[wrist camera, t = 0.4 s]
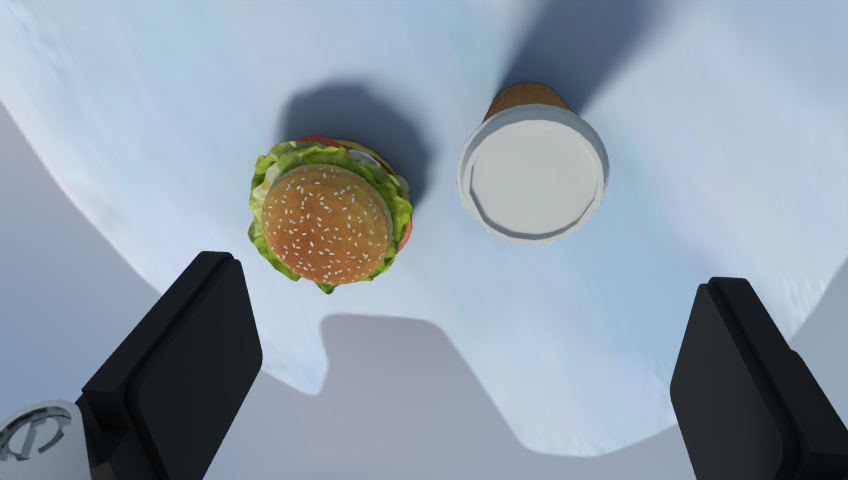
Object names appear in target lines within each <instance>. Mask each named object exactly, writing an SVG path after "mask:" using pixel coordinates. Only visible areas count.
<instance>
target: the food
mask: <svg viewBox="0 0 848 480" xmlns="http://www.w3.org/2000/svg"><path fill="white" fill-rule="evenodd" d="M255 167H256V171H255V174H254V177H253V180H252V187H251V194H250V203H249V206H250V209H251V210H252V212H253V214H254V219H253V222H252V224H251V225H250V228H249V231H248V235H249V238H250V240H251V242H252V243H253V244H254V245H255V246H256V247H257V249H258V251H259V253H260V254H261V255H262V256H263V257H264V258H266V259H267V260H268V261H269V262H270V263H271V264H272V266H273V267H274V268H275V269H276V270H278V271H280V272H281V273H283V274H284V275H286V276H287V277H288V278H289V279H291V280H294V281H296V282H297V281H298V280H299V279H300V278H301V277H304V278H306V279H308V280H311V281H314V282H315V283H316V284H317V286H318V287H319V288H320V289H321V290H323V291H324V292H325V293H326V294H331V293H333V290H334V288H335V287H337V286H338V285H340V284H348V283H353V282H358V281H372V280H373V278H374V277H376V276H378V275H379V274H380V273H383V272H384V271H386V270H387V269H388V268H389V267H390V266H391V265H392V263H393V262H394V260H395V255H396V254H397V253H398V252H399V251H400V250H401V249H402V248H403V246H404V245H405V243H406V242H407V240H408V239H409V236H410V233H411V230H412V217H411V213H412V212H413V208H412V206H411V204H410V189H409V187H408V184H407V182H406V180H405V179H404V178H403V177H401V176H398V175H396V173H395V172H394V170H393V168H392V167H391V166H390V165H389V164H388V163H387V162H386V161H384V160H383V159H382V158H381V157H380V156H379V155H378V154H377V153H375V152H374V151H372V150H370V149H368V148H366V147H364V146H362V145H360V144H358V143H356V142H352V141H346V140H337V139H330V138H326V137H320V136H310V137H303V138H300V139H298V140H295V141H293V142H284V143H279V144H277V145H275V146H274V147H273V148H272V149H271V150H270V151H269V153H268V155H267V156H263V155H260V156H259V158H258V160H257V163H256V166H255Z"/></svg>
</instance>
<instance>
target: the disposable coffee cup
mask: <svg viewBox="0 0 848 480" xmlns="http://www.w3.org/2000/svg"><path fill="white" fill-rule="evenodd" d="M608 180H609V161H608V155H607V152H606V150H605V147H604V144H603V142H602V141H601V139H600V137H599V135H598V134H597V133H596V132H595V130H594V129H593V128H592V127H591V126H590V125H589V124H588V122H586V121H585V120H583V119H582V118H580V117H579V116H577V115H575V114H574V113H573V112H572V111H571V110H570V108H569V107H568V106H567V105H566V104H565V102H564V101H563V100H562V99H561V97H560V96H559V95H558V94H557V93H556V92H555V91H554V90H553V89H551V88H550V87H548V86H546V85H544V84H541V83H537V82H522V83H517V84H514V85H512V86H510V87H507V88H506V89H504V90H503V91H502V92H501V93H500V94H499V95H497V97H496V98H495V99H494V100H493V102H492V104H491V106H490V108H489V110H488V112H487V114H486V116H485V118H484V120H483V122H482V124H481V125H480V126H479V127H478V128H477V129H476V130H475V131H474V132H473V133H472V135H471V136H470V138H469V139H468V140H467V142H466V143H465V146H464V148H463V150H462V153H461V155H460V158H459V162H458V167H457V186H458V190H459V194H460V197H461V199H462V201H463V204H464V206H465V207H466V209H467V210H468V212H469V213H470V215H471V216H472V217H473V218H474V219H475V220H476V221H477V222H478V223H479V224H480V225H481V227H482V228H484V229H485V230H486V231H488V232H489V233H490V234H492V235H494V236H496V237H498V238H500V239H501V240H505V241H508V242H512V243H515V244H522V245H539V244H547V243H550V242H554V241H558V240H560V239H563V238H565V237H567V236H568V235H570V234H572V233H574V232H575V231H577V230H578V229H579V228H580V227H581V226H583V225H584V224H585V223H586V222H587V221H588V220H589V218H590V217H591V216H592V215H593V213H594V211H595V210H596V208H597V207H598V206H599V204H600V203H601V201H602V199H603V197H604V195H605V192H606V188H607V185H608Z"/></svg>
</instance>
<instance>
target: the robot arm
mask: <svg viewBox="0 0 848 480" xmlns="http://www.w3.org/2000/svg"><path fill="white" fill-rule="evenodd" d="M262 359H263V354H262V349H261V345H260V340H259V336H258V332H257V328H256V323H255V319H254V315H253V311H252V307H251V302H250V298H249V294H248V290H247V286H246V281H245V277H244V273H243V269H242V265H241V262H240V261H239V260H237V259H234V257H233V256H232V254H231V253H229V252H215V251H202V252H201V253H199V254H198V255H197V256H196V258H195V259H194V260H193V261H192V262H191V263H190V265H189V266H188V267H187V268H186V269H185V270H184V271H183V273H182V274H181V275H180V276H179V277H178V278H177V280H176V281H175V282H174V283H173V284H172V285H171V286H170V288H169V289H168V290H167V291H166V292H165V293H164V295H163V296H162V297H161V298H160V299H159V300H158V302H157V303H156V304H155V305H154V306H153V307H152V309H151V310H150V311H149V312H148V313H147V314H146V315H145V317H144V318H143V319H142V320H141V321H140V322H139V323H138V325H137V326H136V327H135V328H134V329H133V331H132V332H131V333H130V334H129V335H128V336H127V337H126V339H125V340H124V341H123V342H122V343H121V344H120V345H119V347H118V348H117V349H116V350H115V351H114V352H113V353H112V355H111V356H110V357H109V358H108V359H107V360H106V362H105V363H104V364H103V365H102V366H101V367H100V369H99V370H98V371H97V372H96V373H95V374H94V375H93V377H92V378H91V379H90V380H89V381H88V382H87V384H86V385H85V386H84V387H83V388H82V389H81V390H82V392H83V394H82V395H81V397H79V399H78V400H77V401H76V402H75V403H72V402H70V401H66V400H60V399H59V400H49V401H43V402H40V403H37V404H33V405H30V406H28V407H26V408H24V409H22V410H19V411H17V412H16V413H14V414H13V415H11V416H10V417H8V418H6V419H5V420H4V421H2V422H1V423H0V480H202V479H203V477H204V476H205V473H206V472H207V470H208V468H209V466H210V464H211V462H212V460H213V458H214V456H215V455H216V453H217V451H218V448H219V447H220V445H221V443H222V441H223V439H224V437H225V435H226V434H227V432H228V430H229V428H230V426H231V424H232V422H233V420H234V418H235V416H236V414H237V413H238V411H239V409H240V407H241V405H242V403H243V401H244V399H245V397H246V395H247V394H248V392H249V390H250V388H251V386H252V384H253V382H254V380H255V378H256V376H257V374H258V373H259V371H260V368H261V365H262ZM670 397H671V402H672V405H673V408H674V411H675V414H676V417H677V420H678V424H679V427H680V430H681V432H682V436H683V439H684V442H685V445H686V448H687V451H688V454H689V457H690V460H691V464H692V467H693V470H694V473H695V476H696V479H697V480H848V430H847V428H846V427H845V425H844V424H843V422H842V421H841V419H840V417H839V416H838V414H837V413H836V411H835V410H834V408H833V406H832V405H831V403H830V402H829V400H828V399H827V397H826V395H825V394H824V392H823V391H822V389H821V388H820V386H819V385H818V383H817V381H816V380H815V378H814V377H813V375H812V373H811V372H810V370H809V369H808V367H807V366H806V364H805V362H804V361H803V359H802V358H801V357H800V356H799V354H798V353H797V352H795V351H793V350H791V349H790V347H789V346H788V344H787V342H786V341H785V339H784V337H783V336H782V334H781V333H780V331H779V329H778V328H777V326H776V325H775V323H774V321H773V320H772V318H771V317H770V315H769V313H768V312H767V310H766V309H765V307H764V305H763V304H762V302H761V301H760V299H759V297H758V296H757V294H756V293H755V291H754V289H753V288H752V286H751V285H750V283H749V282H748V281H747V280H746V279H744V278H730V277H712V278H711V279H710V280H709V282H708V284H700V285H699V287H698V290H697V293H696V296H695V300H694V303H693V307H692V310H691V314H690V317H689V321H688V324H687V328H686V331H685V335H684V338H683V342H682V345H681V348H680V352H679V355H678V359H677V362H676V366H675V369H674V373H673V376H672V380H671V384H670Z"/></svg>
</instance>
